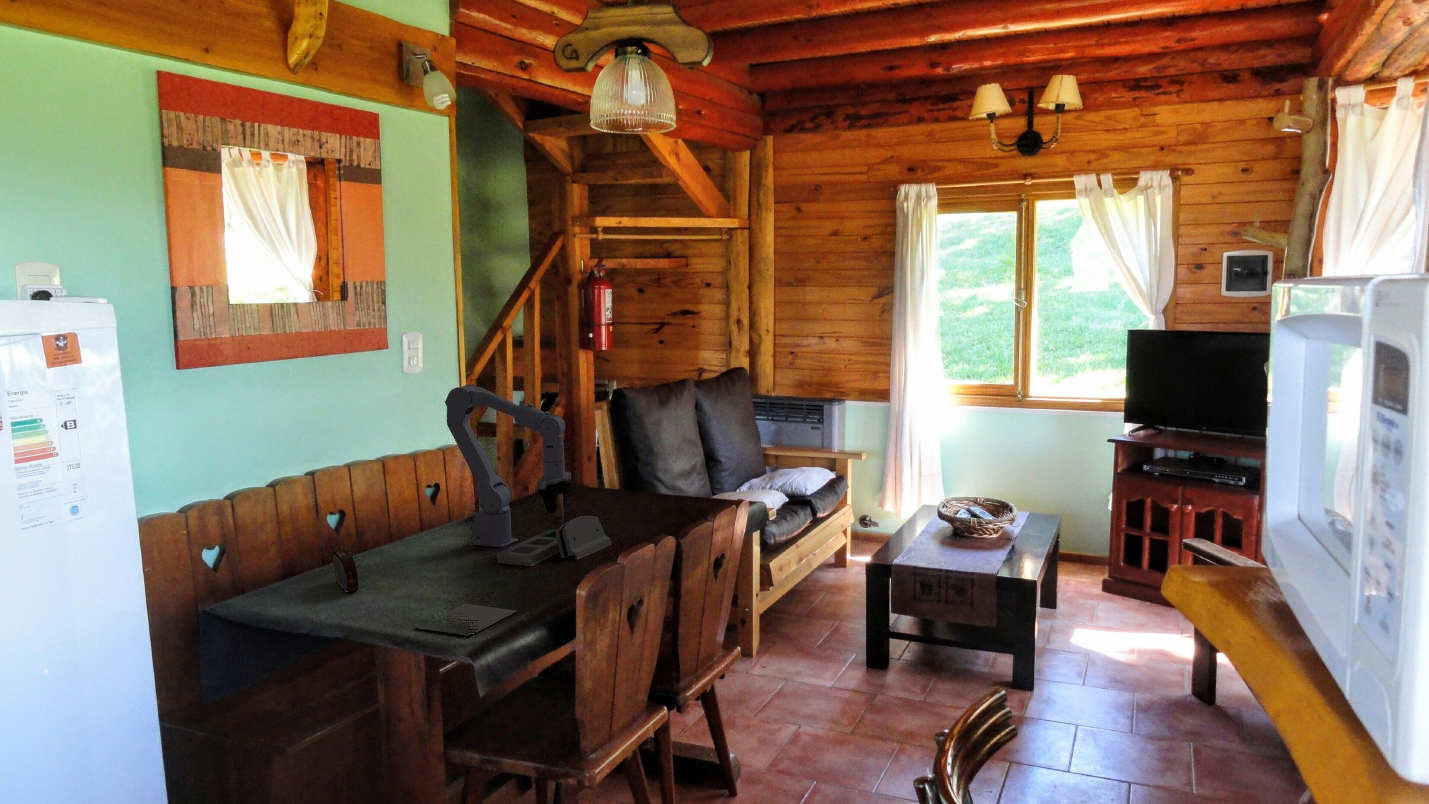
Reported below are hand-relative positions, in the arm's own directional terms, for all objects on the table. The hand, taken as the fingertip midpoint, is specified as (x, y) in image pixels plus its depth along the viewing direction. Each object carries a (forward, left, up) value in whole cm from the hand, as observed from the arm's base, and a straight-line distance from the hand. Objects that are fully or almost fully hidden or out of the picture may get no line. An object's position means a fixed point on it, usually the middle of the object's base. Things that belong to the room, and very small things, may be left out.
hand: (555, 510), depth 264 cm
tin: (-28, -49, -10) cm, 57 cm away
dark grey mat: (+9, -56, -10) cm, 58 cm away
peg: (0, 0, -3) cm, 3 cm away
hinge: (+10, -4, -10) cm, 14 cm away
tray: (0, -8, -9) cm, 12 cm away
